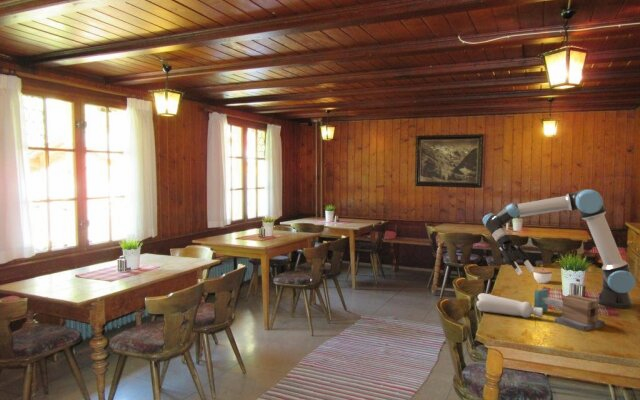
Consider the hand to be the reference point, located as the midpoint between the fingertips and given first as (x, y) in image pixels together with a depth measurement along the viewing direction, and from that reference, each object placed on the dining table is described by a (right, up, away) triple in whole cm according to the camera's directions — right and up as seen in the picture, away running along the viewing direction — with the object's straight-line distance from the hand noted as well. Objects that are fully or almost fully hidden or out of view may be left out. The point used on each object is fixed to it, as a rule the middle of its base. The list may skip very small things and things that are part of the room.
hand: (526, 272), depth 241 cm
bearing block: (+14, -20, -24) cm, 34 cm away
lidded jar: (+35, -15, +57) cm, 69 cm away
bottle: (-14, -20, -11) cm, 26 cm away
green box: (+8, -19, -13) cm, 25 cm away
